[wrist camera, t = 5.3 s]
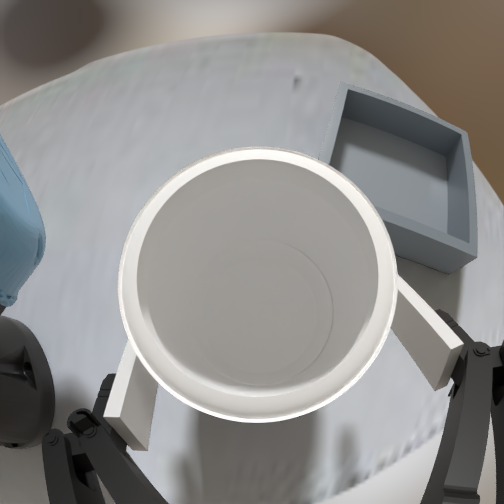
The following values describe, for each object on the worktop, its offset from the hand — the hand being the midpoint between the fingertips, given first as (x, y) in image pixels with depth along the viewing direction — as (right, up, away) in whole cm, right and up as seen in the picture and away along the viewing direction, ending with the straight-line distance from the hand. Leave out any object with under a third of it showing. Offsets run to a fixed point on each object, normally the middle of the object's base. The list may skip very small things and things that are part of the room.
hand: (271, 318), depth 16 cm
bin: (+14, +11, +13) cm, 22 cm away
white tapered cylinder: (0, -2, +9) cm, 9 cm away
